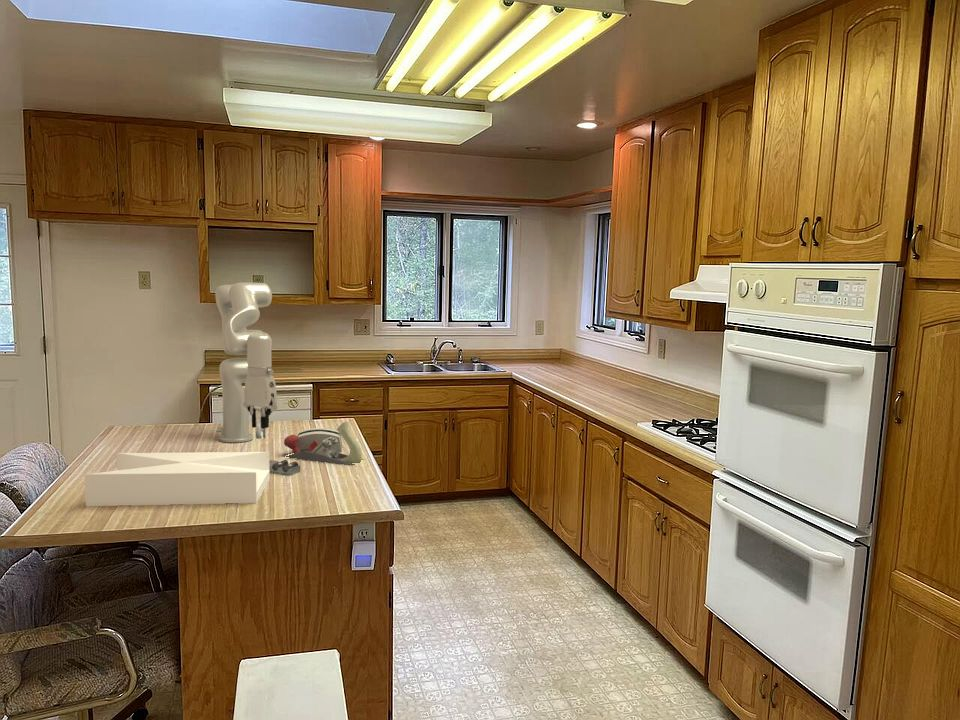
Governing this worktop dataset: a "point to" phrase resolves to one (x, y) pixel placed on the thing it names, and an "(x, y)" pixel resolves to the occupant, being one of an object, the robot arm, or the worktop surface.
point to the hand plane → (327, 448)
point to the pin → (259, 423)
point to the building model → (180, 479)
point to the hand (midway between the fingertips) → (260, 426)
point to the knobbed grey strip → (284, 467)
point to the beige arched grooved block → (318, 438)
